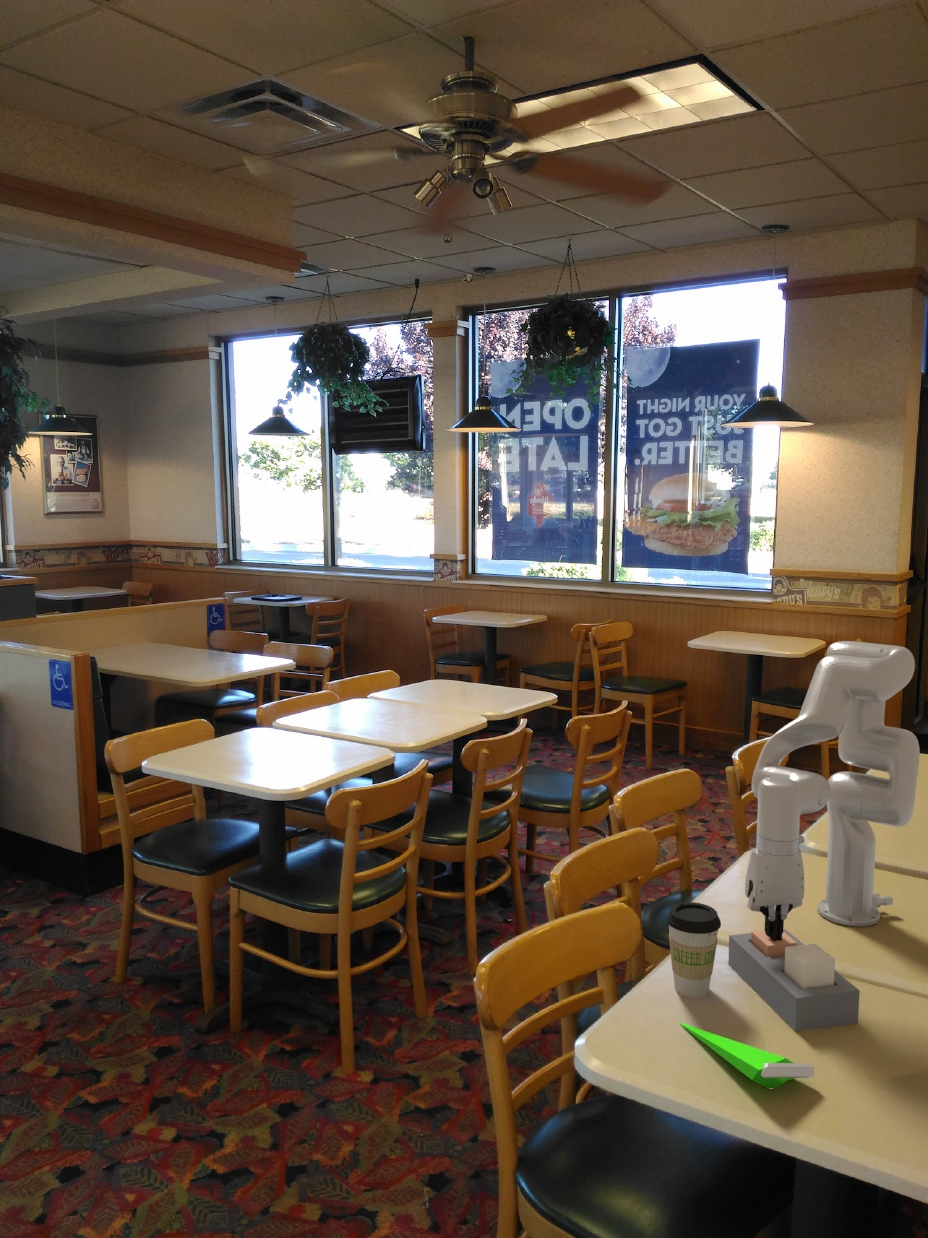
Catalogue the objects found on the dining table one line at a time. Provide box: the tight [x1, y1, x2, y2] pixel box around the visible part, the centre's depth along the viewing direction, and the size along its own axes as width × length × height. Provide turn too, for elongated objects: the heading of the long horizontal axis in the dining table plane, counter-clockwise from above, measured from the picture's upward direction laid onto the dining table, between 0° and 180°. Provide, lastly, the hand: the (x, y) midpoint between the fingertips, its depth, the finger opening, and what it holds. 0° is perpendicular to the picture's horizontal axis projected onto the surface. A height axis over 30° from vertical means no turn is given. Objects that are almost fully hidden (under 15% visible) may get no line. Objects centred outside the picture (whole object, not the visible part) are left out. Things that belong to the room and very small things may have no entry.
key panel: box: [728, 928, 860, 1032], centre depth 176 cm, size 12×24×6 cm, turn 12°
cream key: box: [784, 943, 836, 989], centre depth 169 cm, size 6×6×6 cm
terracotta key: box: [750, 929, 797, 957], centre depth 181 cm, size 6×6×6 cm
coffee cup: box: [665, 901, 722, 998], centre depth 177 cm, size 10×10×15 cm
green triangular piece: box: [678, 1022, 815, 1089], centre depth 156 cm, size 11×5×25 cm
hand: (773, 937), depth 181 cm, fingers closed
